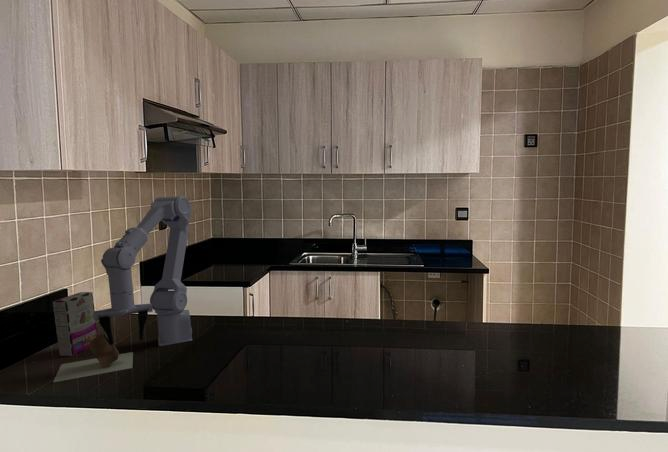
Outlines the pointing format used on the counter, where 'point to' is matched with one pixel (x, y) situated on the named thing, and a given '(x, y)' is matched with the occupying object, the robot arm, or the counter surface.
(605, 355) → the counter surface
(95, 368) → the cream board
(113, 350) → the walnut block
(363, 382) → the counter surface
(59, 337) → the candy bar box
